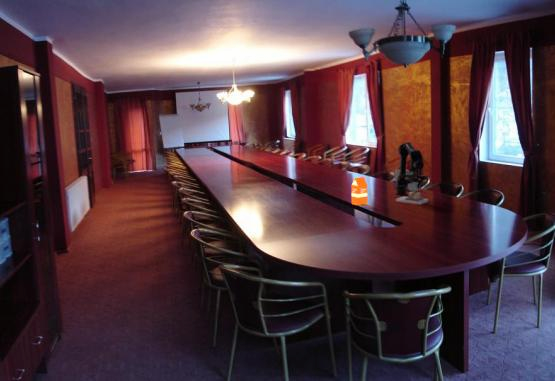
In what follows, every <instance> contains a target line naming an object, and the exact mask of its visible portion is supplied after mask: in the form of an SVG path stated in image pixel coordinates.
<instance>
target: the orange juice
mask: <svg viewBox="0 0 555 381" xmlns="http://www.w3.org/2000/svg"><path fill="white" fill-rule="evenodd" d="M367 183H368V182H367V181H366V179H365V177H364V176H360V177H354V179H353V181H352V184H351V204H352V205H353V206H354V205H355V206H357V205H359V206H362V205H361V204H365V205H368V184H367Z"/></svg>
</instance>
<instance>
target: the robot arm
mask: <svg viewBox="0 0 555 381" xmlns="http://www.w3.org/2000/svg"><path fill="white" fill-rule="evenodd" d="M397 150H398V154H399V156H400V160H399V163H400V164H399V170H400V175H399V176H398V178H397V181H396V184H395V183H394V186H395V185H396V187H397V189H396V193H395V195H396V196H405V195H407V194H408V193H407V191H408V189H406V187H408V184H409V183H412V182H413V179H417V183H418V189H419V188H420V189H421V185H422V183H423V182H424V181H427V180H429V176H428V175H425V174H424V175H423V174H421V175H420V170H422V169H423V168H424V167H425V166H424V165H425V164H424V162H423V161H422V160H423V155H422V153H421V150H419V149H417V148H415V147H414V146H413V145H412V143H411V142H410V141H409V142H408V141H407V142H403V144H399V146H398V148H397ZM408 157H409V159H410V168H409V172H408V173H407V174H406V170H407V158H408ZM398 185H399V186H398Z"/></svg>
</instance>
